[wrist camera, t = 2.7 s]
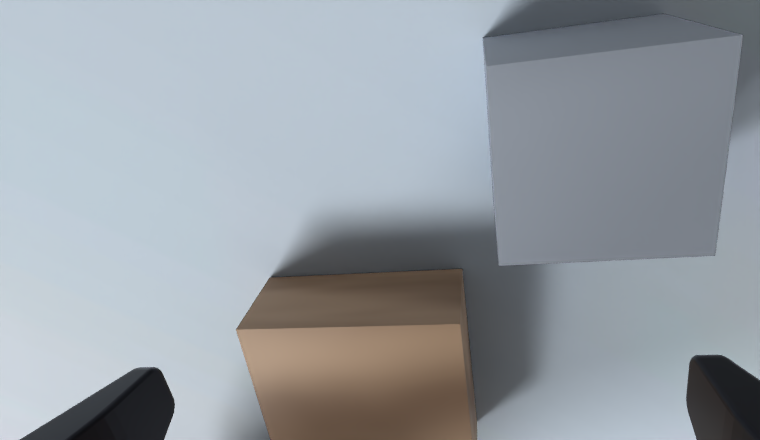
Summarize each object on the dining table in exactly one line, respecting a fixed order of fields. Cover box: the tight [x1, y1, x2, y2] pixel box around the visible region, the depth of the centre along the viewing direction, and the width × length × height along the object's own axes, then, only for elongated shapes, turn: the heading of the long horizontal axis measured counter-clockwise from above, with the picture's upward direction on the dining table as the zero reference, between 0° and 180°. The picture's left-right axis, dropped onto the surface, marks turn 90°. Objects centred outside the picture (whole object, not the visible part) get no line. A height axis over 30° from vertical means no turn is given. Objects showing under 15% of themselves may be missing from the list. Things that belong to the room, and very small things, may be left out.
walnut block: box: [236, 269, 477, 440], centre depth 24 cm, size 9×9×4 cm
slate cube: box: [483, 14, 743, 266], centre depth 17 cm, size 6×6×6 cm
